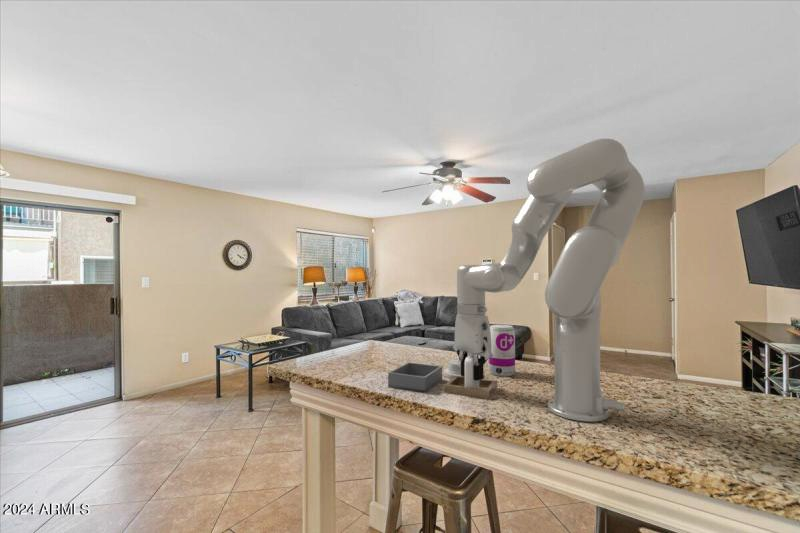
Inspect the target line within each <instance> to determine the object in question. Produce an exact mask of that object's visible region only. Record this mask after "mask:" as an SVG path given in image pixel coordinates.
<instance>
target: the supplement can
mask: <svg viewBox="0 0 800 533" xmlns="http://www.w3.org/2000/svg"><path fill="white" fill-rule="evenodd" d="M490 332H491V352H492V354H493V356H492V357H491V358H489V359H488V360H487V361H488V367H487V369H488V372H490V374H491V375H494V376H498V377H510V376H513V375H514V374H515V373H516V331H515V329H514V327H513V325H509V324H491V325H490Z"/></svg>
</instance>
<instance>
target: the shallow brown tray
mask: <svg viewBox="0 0 800 533" xmlns="http://www.w3.org/2000/svg"><path fill="white" fill-rule="evenodd" d="M461 385H462V386H461ZM483 388H484V389H483ZM497 389H498V380H493V379H484V378H483V379H481V380H479V387H478V388H470V387H465V377H463V376H455V377H453V378H450V380H448V381H447V382H446V383H445V384H444V385H443V393H445V394H452V395H458V396H465V397H472V398H478V399H485V400H490V399H491V397H493V395H494V394H495V393H496V391H497Z"/></svg>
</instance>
